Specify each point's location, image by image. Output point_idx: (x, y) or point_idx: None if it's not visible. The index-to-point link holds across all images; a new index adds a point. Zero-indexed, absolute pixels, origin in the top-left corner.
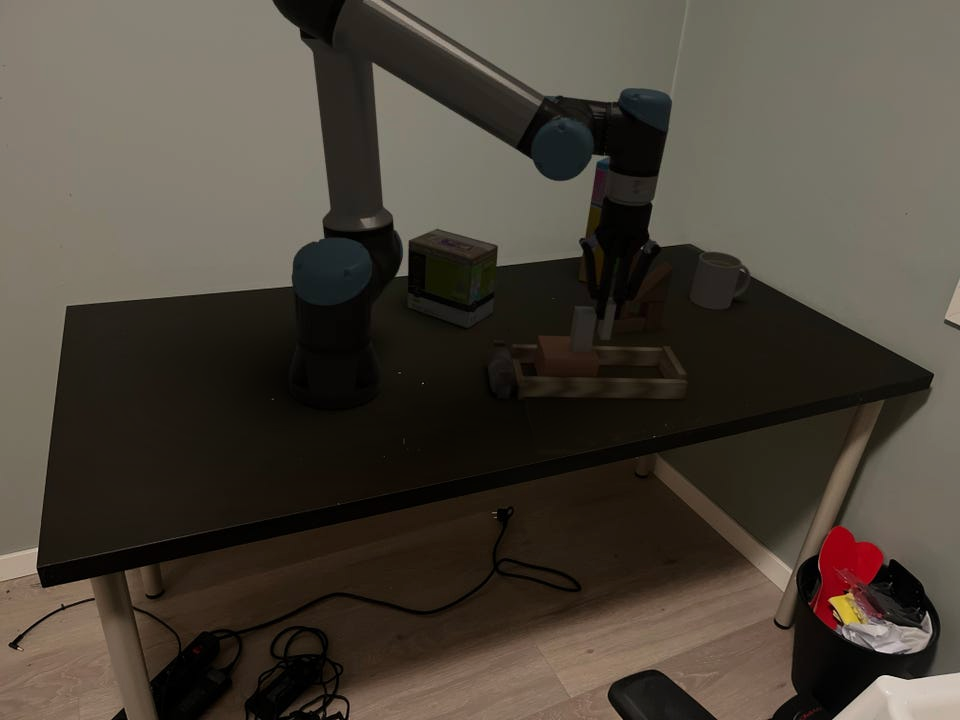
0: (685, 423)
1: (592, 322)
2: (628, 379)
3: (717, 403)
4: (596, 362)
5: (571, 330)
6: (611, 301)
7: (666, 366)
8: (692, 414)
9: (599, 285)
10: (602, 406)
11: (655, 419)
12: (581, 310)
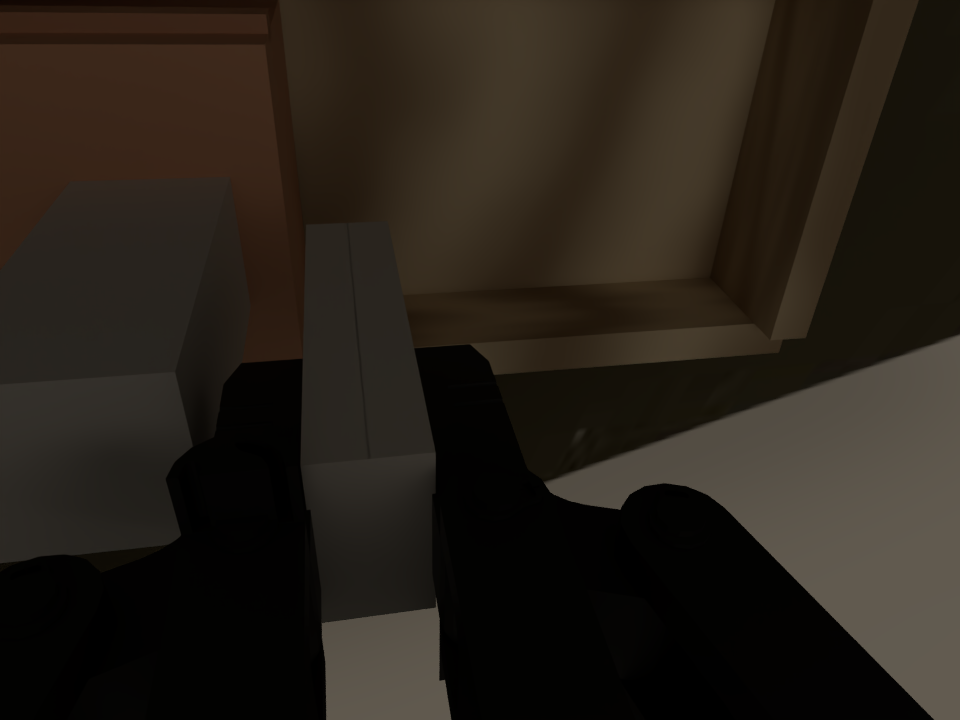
0: (659, 419)
1: None
2: (485, 352)
3: (871, 280)
4: None
5: (30, 240)
6: (393, 551)
7: (786, 125)
8: (719, 364)
9: (157, 699)
10: None
11: (552, 409)
12: (19, 482)
